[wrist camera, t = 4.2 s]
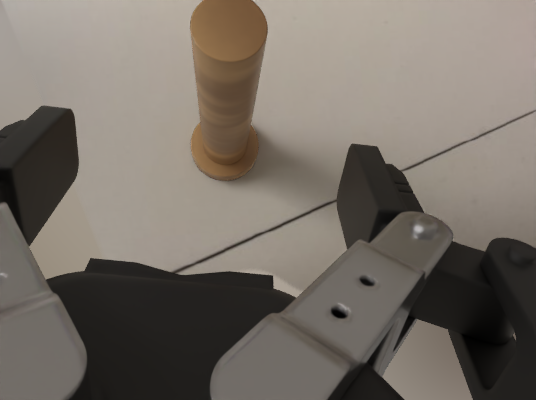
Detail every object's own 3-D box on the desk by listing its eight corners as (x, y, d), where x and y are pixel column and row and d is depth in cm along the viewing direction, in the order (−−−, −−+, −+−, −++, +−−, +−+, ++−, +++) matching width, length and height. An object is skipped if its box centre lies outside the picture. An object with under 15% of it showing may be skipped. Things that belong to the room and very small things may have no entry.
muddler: (207, 191, 27) (197, 98, 15) (181, 132, 28) (150, -5, 15) (268, 165, 28) (308, 56, 15) (240, 109, 29) (257, -41, 16)
